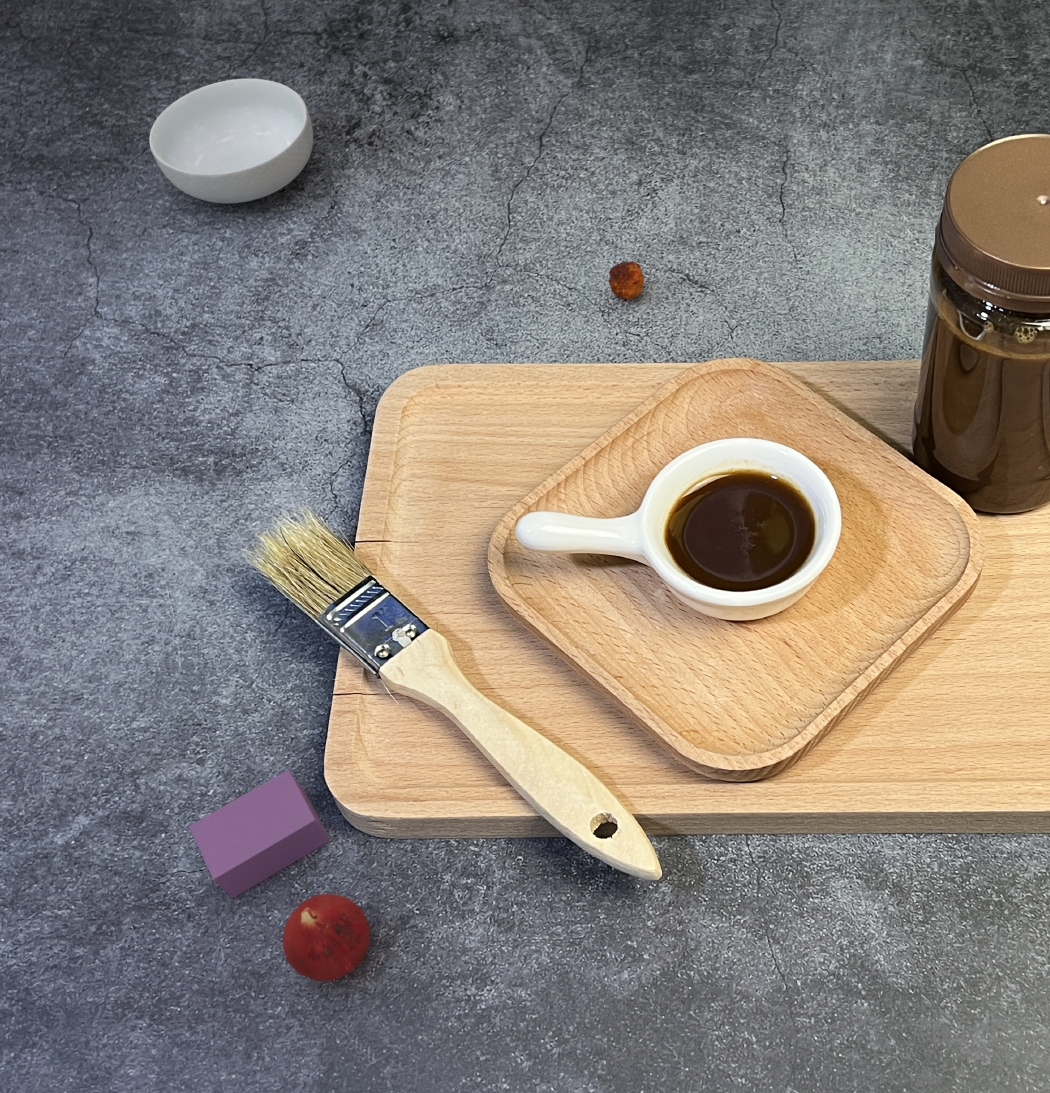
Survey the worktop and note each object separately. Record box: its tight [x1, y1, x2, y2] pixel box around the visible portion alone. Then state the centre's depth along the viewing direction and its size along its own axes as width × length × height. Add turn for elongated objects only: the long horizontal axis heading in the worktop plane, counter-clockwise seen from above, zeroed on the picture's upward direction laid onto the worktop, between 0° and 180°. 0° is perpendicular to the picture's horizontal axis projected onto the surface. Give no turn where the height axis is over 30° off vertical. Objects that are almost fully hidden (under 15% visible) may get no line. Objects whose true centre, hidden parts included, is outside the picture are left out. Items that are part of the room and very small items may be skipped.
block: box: [188, 769, 331, 899], centre depth 97 cm, size 5×8×4 cm, turn 124°
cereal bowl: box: [148, 78, 314, 204], centre depth 141 cm, size 17×17×7 cm
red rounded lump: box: [282, 893, 371, 982], centre depth 91 cm, size 6×6×8 cm
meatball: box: [608, 261, 645, 300], centre depth 130 cm, size 4×4×4 cm
